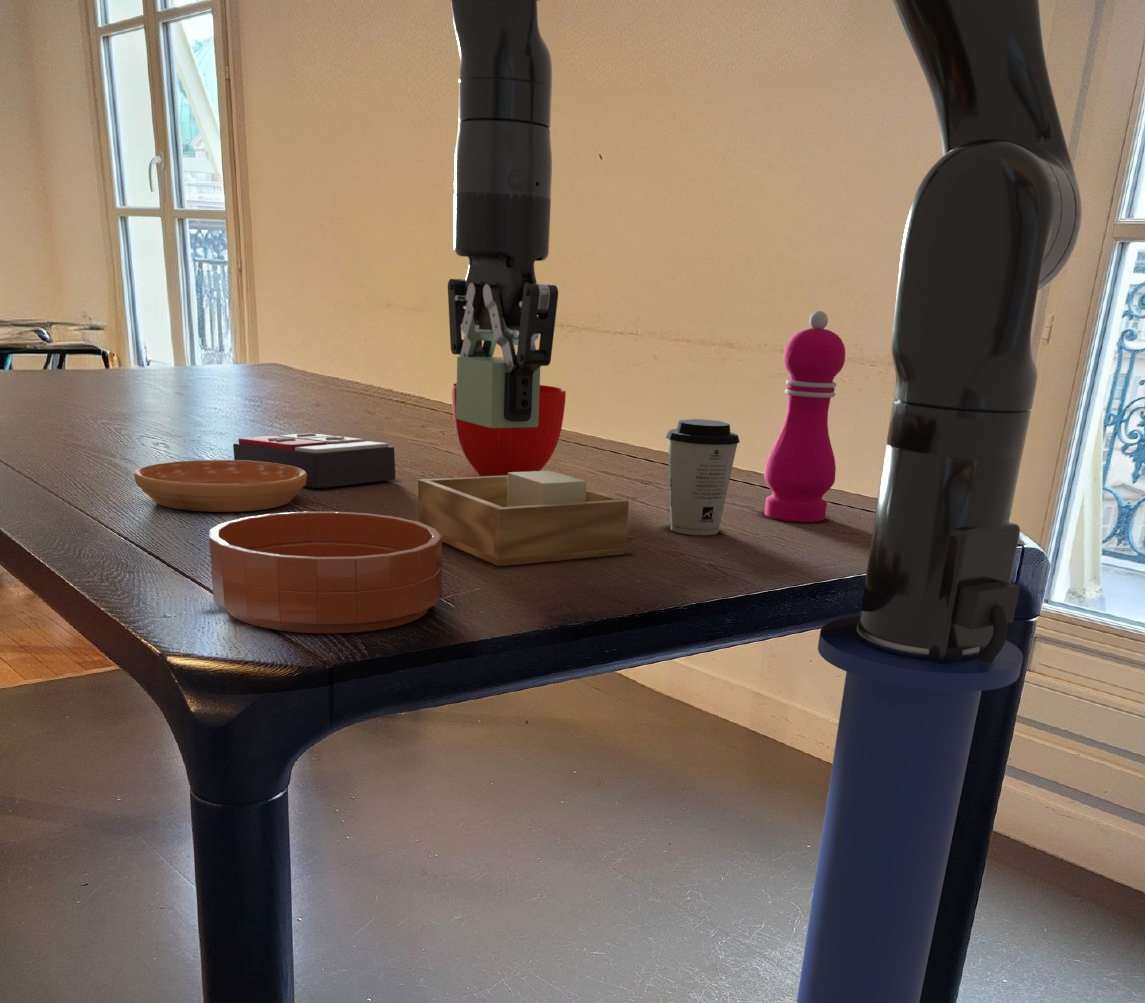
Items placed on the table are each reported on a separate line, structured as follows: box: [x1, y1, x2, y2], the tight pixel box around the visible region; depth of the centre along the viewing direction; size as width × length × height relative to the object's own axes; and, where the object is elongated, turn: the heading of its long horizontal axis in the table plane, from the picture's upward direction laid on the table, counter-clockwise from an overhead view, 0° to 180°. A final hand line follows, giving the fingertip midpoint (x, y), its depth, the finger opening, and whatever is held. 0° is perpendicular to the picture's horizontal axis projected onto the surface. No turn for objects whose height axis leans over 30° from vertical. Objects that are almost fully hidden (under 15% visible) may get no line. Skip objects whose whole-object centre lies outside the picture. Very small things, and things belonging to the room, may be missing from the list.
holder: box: [417, 475, 629, 567], centre depth 100 cm, size 15×13×5 cm
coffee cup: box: [665, 418, 741, 536], centre depth 108 cm, size 7×7×10 cm
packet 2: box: [507, 470, 587, 507], centre depth 101 cm, size 6×4×5 cm
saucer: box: [133, 459, 307, 513], centre depth 111 cm, size 16×16×3 cm
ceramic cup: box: [451, 382, 567, 477], centre depth 130 cm, size 13×17×10 cm
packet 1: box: [456, 356, 541, 428], centre depth 95 cm, size 6×4×5 cm
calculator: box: [232, 432, 396, 489], centre depth 127 cm, size 11×4×15 cm
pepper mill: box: [763, 310, 846, 523], centre depth 116 cm, size 7×7×20 cm
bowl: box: [208, 511, 443, 635], centre depth 78 cm, size 15×15×5 cm
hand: (496, 415), depth 96 cm, fingers closed on packet 1, 6 cm apart
